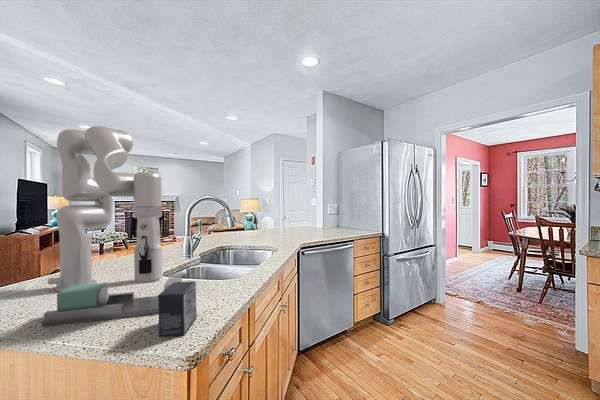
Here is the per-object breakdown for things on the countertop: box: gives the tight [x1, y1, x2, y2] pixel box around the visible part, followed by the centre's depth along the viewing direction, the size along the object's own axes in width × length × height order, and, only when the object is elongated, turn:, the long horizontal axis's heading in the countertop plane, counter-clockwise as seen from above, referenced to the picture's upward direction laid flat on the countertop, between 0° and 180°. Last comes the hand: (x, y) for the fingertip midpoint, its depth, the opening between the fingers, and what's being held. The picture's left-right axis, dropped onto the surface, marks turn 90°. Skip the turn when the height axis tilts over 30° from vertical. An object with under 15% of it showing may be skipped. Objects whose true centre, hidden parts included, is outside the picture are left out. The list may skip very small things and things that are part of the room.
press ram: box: [56, 282, 109, 310], centre depth 81 cm, size 10×8×6 cm
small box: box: [157, 280, 198, 338], centre depth 73 cm, size 11×6×10 cm, turn 5°
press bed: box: [41, 276, 183, 328], centre depth 83 cm, size 33×12×8 cm, turn 107°
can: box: [133, 242, 163, 284], centre depth 86 cm, size 8×8×12 cm
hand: (148, 269), depth 86 cm, fingers closed on can, 7 cm apart
